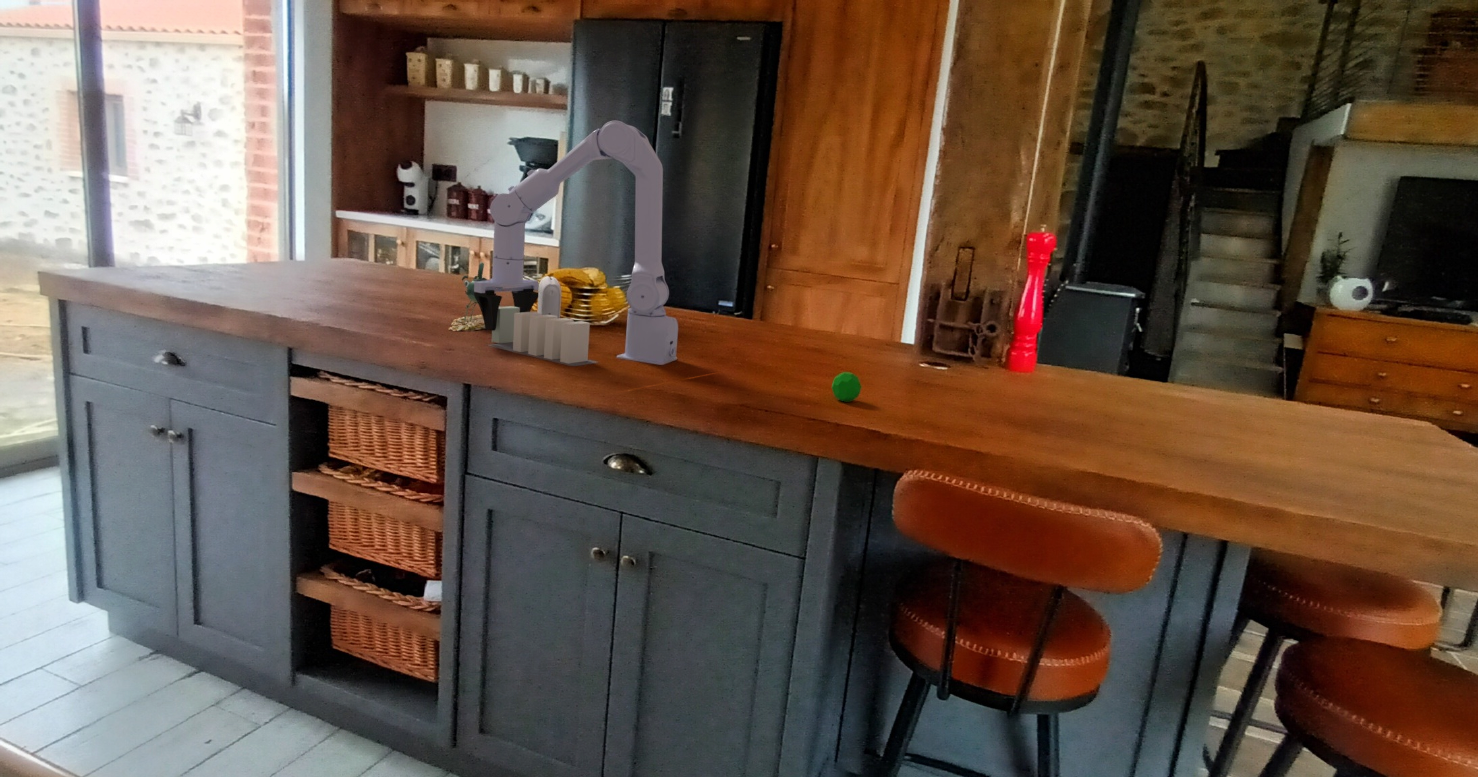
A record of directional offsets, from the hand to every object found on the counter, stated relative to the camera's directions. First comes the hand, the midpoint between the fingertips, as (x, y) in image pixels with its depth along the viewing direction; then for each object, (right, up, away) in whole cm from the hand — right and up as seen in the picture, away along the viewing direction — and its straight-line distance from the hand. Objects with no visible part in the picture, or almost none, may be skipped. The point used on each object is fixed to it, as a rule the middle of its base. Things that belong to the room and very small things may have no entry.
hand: (505, 328), depth 170 cm
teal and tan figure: (-10, +1, +16) cm, 19 cm away
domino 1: (+6, -4, -6) cm, 9 cm away
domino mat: (+9, -6, -8) cm, 13 cm away
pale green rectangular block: (0, -3, +1) cm, 3 cm away
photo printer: (+5, -1, +14) cm, 15 cm away
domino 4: (+16, -7, -12) cm, 21 cm away
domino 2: (+9, -5, -8) cm, 13 cm away
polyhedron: (+64, -14, -21) cm, 68 cm away
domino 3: (+12, -6, -10) cm, 17 cm away
